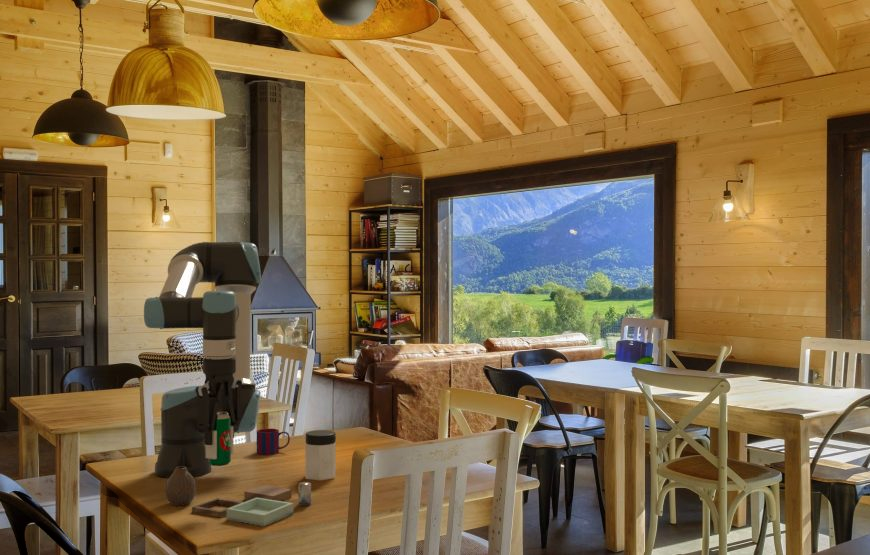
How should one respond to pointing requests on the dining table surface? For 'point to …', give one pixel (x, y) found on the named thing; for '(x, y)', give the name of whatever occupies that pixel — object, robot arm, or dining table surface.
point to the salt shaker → (304, 494)
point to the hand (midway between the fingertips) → (219, 455)
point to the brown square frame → (204, 506)
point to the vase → (180, 487)
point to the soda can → (222, 439)
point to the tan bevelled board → (268, 493)
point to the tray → (260, 511)
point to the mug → (269, 441)
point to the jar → (320, 455)
